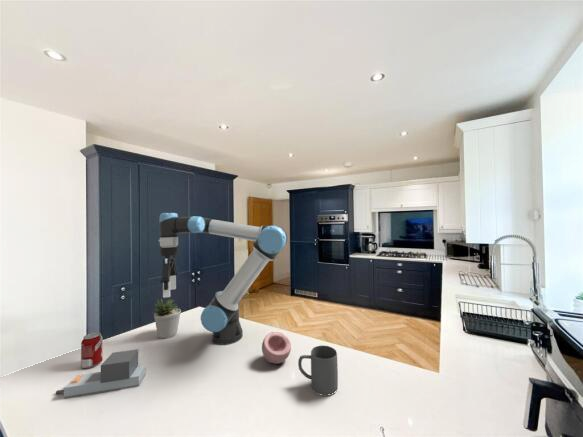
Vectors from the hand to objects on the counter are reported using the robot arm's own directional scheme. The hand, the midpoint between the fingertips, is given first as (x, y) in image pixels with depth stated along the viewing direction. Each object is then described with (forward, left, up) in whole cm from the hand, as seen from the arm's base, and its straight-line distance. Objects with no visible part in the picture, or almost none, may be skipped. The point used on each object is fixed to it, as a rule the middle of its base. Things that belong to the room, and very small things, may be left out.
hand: (169, 293), depth 108 cm
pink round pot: (-45, +22, -26) cm, 57 cm away
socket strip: (+18, +20, -26) cm, 37 cm away
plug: (+12, +20, -25) cm, 34 cm away
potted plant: (+6, -18, -26) cm, 33 cm away
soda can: (+29, +3, -26) cm, 39 cm away
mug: (-56, +41, -26) cm, 74 cm away
